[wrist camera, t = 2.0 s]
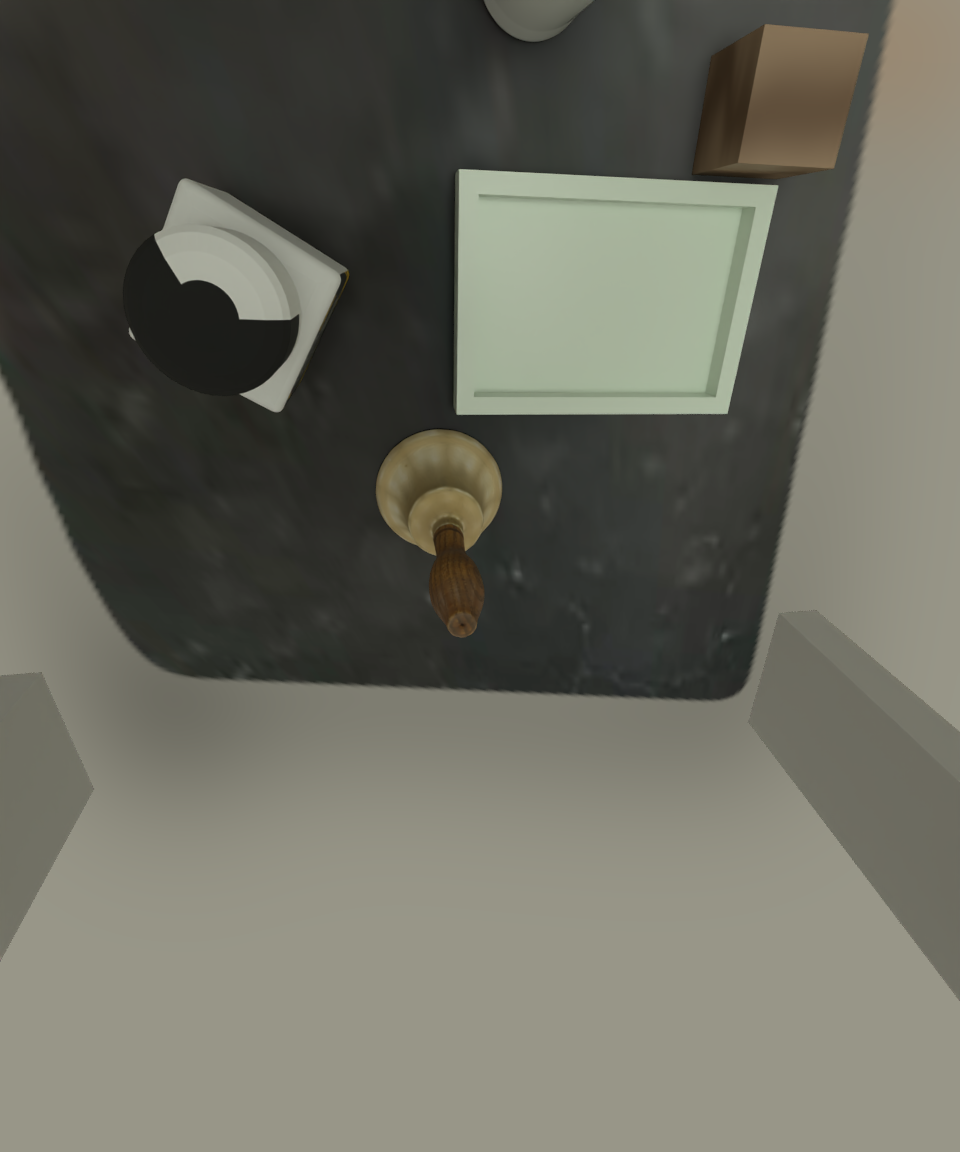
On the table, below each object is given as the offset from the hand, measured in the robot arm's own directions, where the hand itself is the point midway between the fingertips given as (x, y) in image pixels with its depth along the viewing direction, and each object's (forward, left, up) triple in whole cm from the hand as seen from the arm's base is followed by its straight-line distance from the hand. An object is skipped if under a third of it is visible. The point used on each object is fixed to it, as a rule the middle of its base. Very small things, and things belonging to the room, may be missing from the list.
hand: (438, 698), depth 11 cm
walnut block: (-14, +18, -29) cm, 37 cm away
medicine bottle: (-5, -8, -29) cm, 30 cm away
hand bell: (+7, +2, -29) cm, 30 cm away
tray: (-5, +11, -29) cm, 31 cm away
